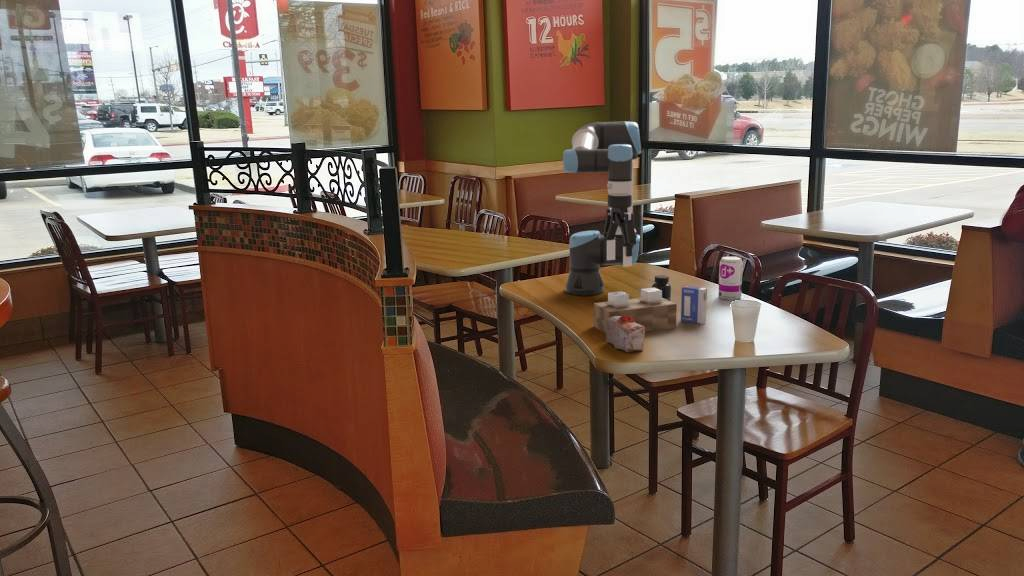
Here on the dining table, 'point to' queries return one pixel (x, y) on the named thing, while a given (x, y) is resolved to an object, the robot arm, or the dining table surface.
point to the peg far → (651, 296)
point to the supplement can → (730, 278)
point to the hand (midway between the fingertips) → (619, 263)
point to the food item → (625, 333)
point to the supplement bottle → (663, 286)
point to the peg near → (618, 299)
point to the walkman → (693, 304)
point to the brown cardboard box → (638, 314)
